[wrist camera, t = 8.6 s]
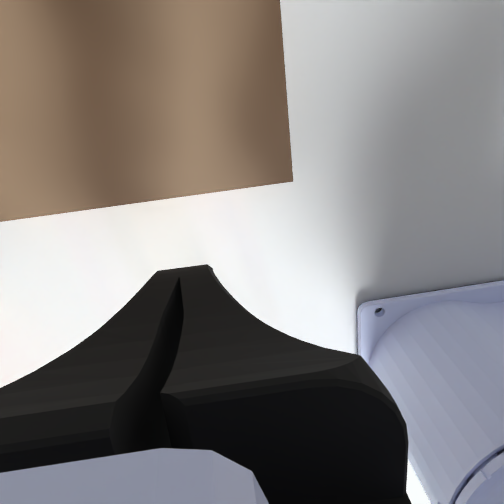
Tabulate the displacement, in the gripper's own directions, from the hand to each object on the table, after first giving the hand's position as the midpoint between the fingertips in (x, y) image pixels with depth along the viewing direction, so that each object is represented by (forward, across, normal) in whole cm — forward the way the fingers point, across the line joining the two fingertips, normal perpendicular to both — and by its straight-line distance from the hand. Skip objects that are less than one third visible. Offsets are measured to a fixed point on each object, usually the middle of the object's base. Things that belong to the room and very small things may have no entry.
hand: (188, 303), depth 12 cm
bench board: (+9, +2, -6) cm, 11 cm away
